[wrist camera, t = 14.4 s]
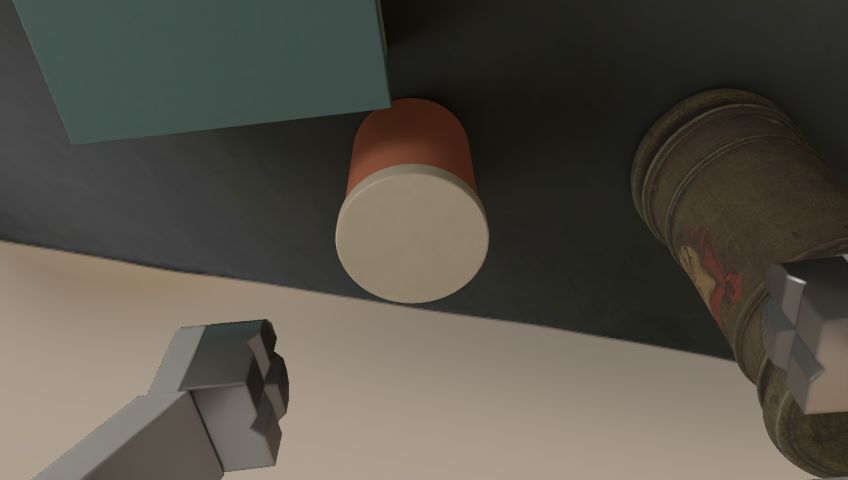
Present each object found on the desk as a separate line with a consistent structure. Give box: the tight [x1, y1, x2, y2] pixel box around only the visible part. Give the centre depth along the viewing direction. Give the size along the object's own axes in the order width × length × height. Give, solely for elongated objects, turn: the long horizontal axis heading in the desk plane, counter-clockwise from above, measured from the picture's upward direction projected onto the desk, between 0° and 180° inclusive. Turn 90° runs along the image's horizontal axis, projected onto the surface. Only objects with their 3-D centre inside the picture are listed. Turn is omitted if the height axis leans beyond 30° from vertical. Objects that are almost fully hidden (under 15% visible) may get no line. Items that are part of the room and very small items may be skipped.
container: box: [631, 88, 848, 479], centre depth 32 cm, size 9×9×18 cm
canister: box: [336, 98, 489, 303], centre depth 35 cm, size 7×7×9 cm
